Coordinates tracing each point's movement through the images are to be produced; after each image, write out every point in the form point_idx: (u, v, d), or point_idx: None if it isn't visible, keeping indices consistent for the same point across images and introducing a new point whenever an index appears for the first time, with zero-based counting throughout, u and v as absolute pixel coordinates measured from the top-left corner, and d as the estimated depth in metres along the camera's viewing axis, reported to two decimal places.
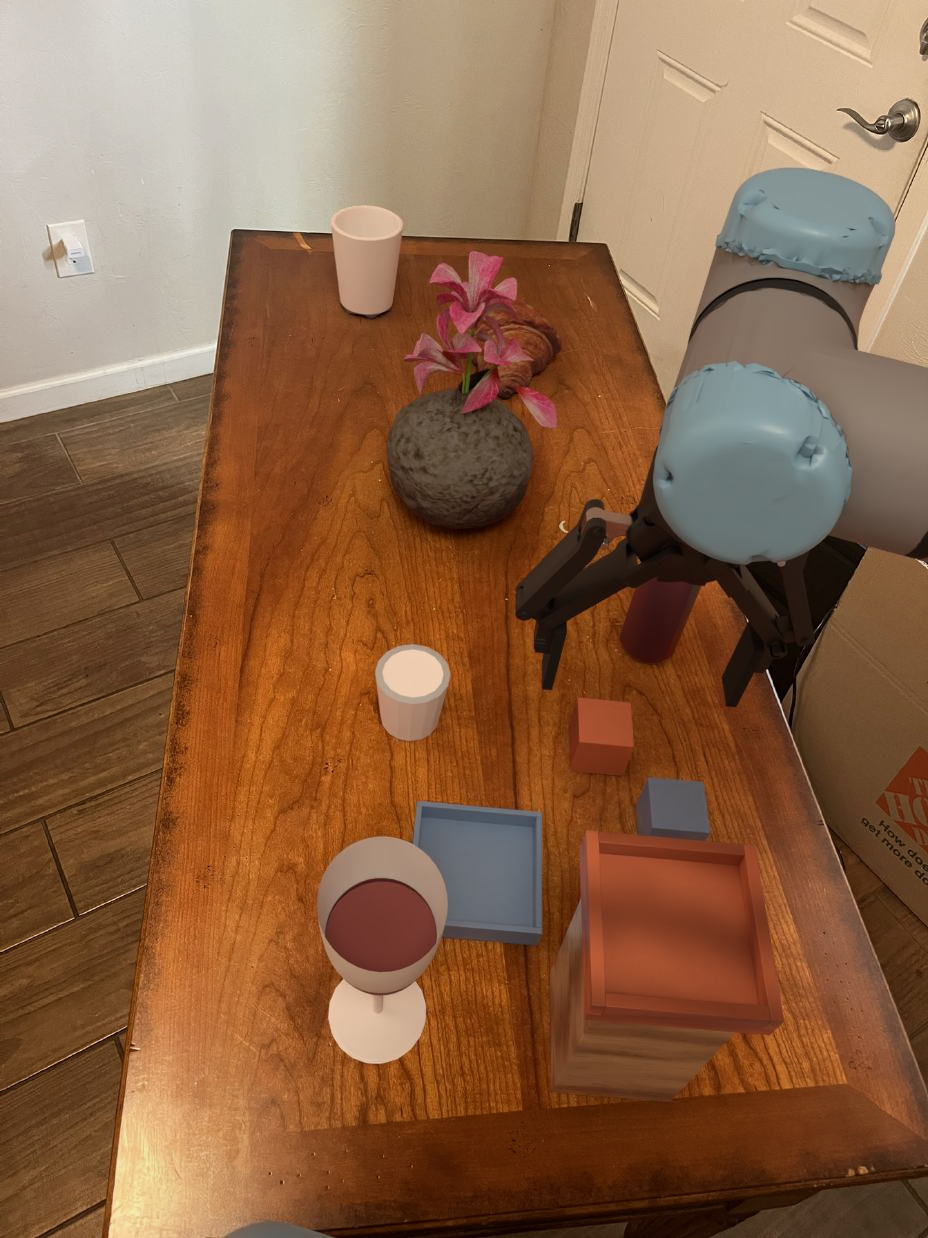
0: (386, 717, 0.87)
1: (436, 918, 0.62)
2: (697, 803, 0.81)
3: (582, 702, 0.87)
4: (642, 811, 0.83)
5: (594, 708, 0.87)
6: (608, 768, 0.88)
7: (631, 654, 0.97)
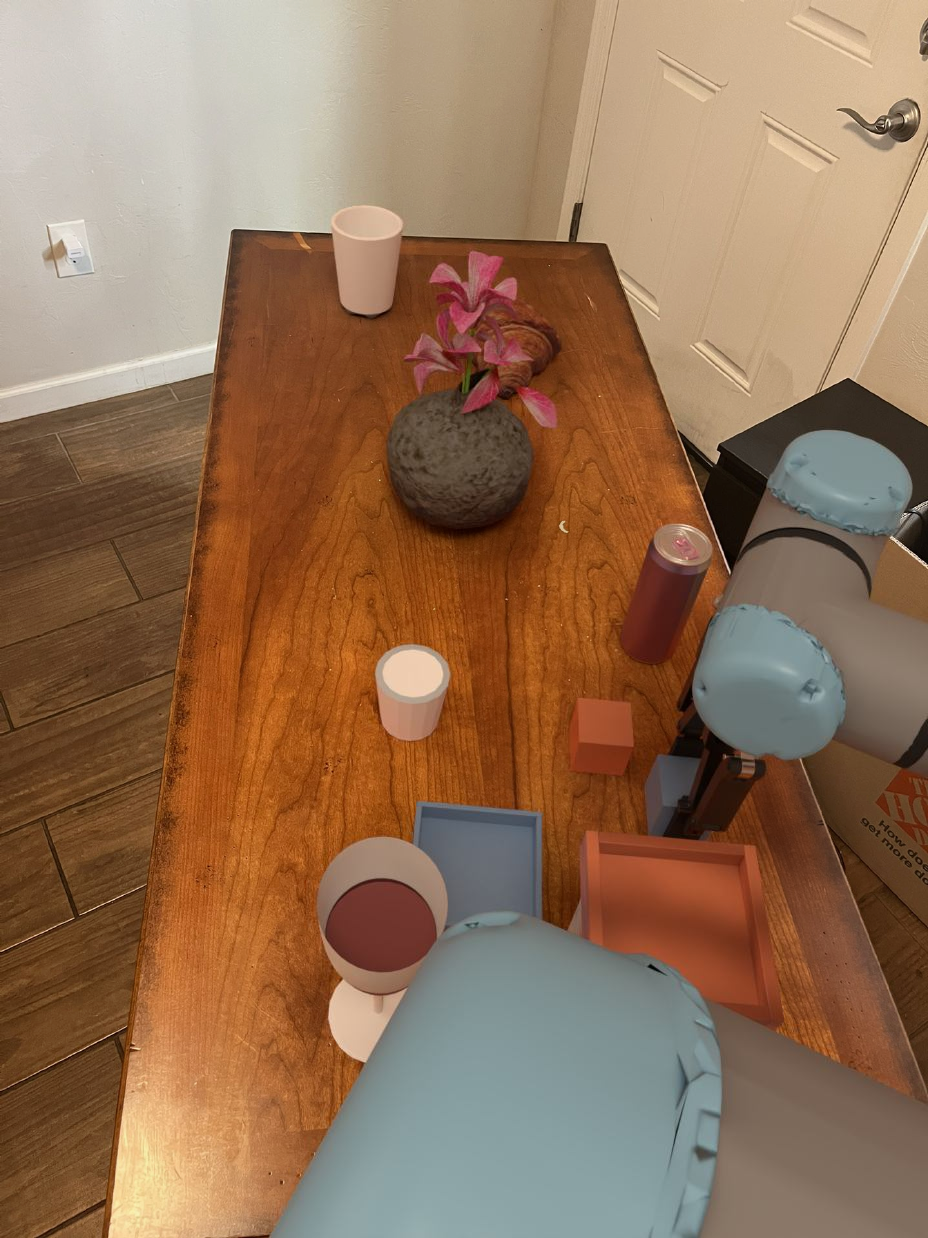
0: (386, 717, 0.87)
1: (436, 918, 0.62)
2: None
3: (582, 702, 0.87)
4: (652, 790, 0.80)
5: (594, 708, 0.87)
6: (608, 768, 0.88)
7: (631, 654, 0.97)
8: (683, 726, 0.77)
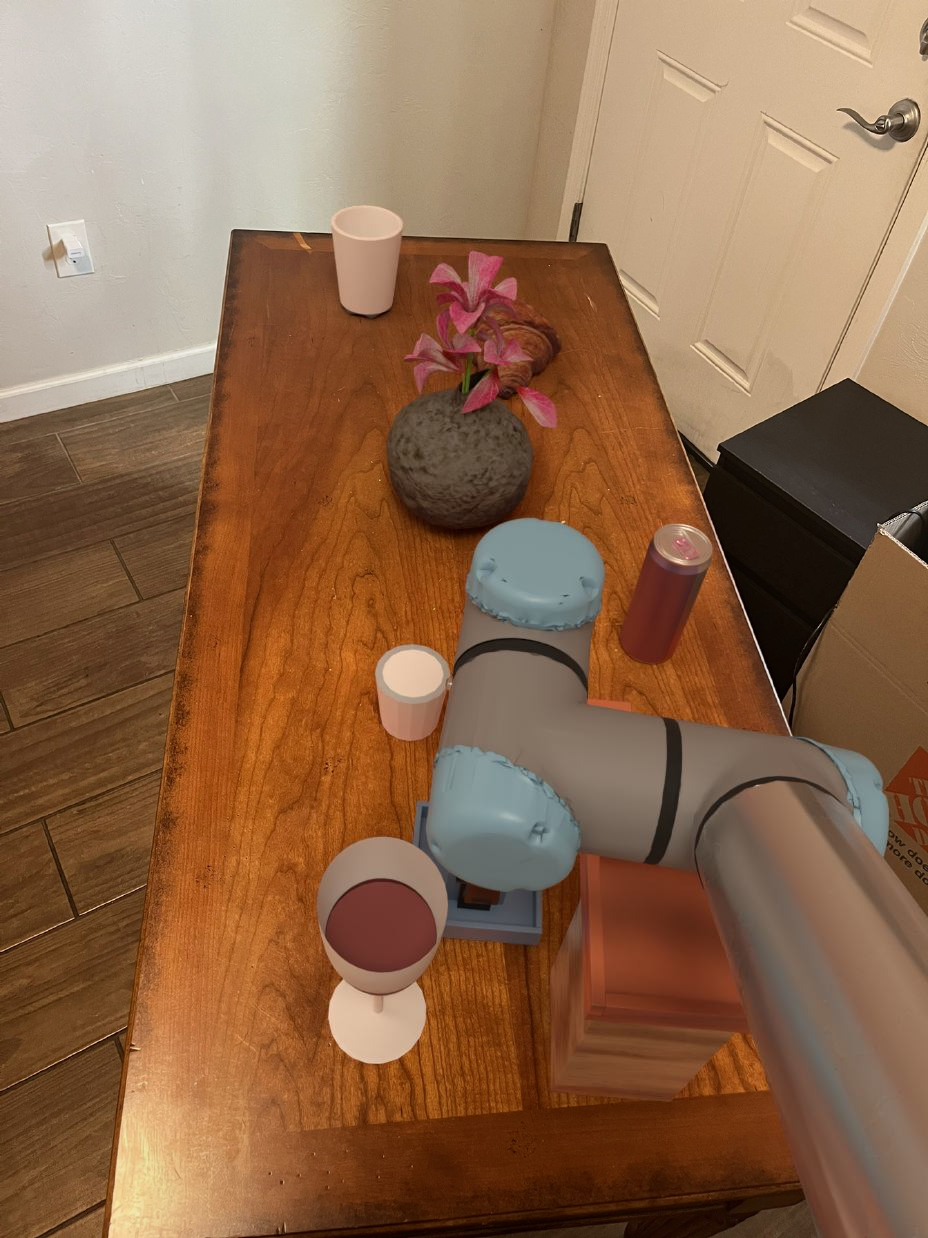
0: (386, 717, 0.87)
1: (436, 918, 0.62)
2: None
3: None
4: None
5: None
6: None
7: (631, 654, 0.97)
8: None
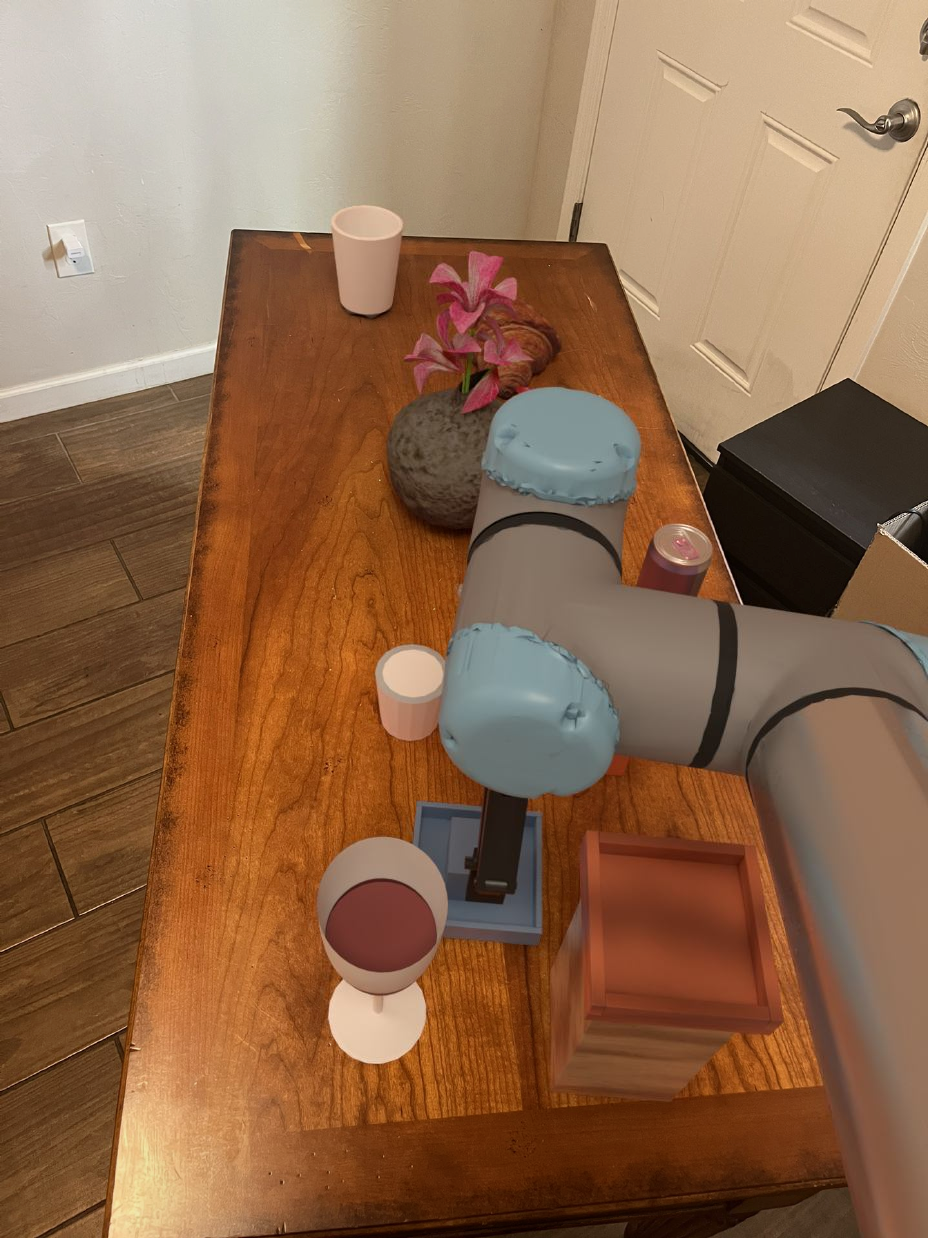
0: (386, 717, 0.87)
1: (436, 918, 0.62)
2: None
3: None
4: None
5: None
6: None
7: None
8: None
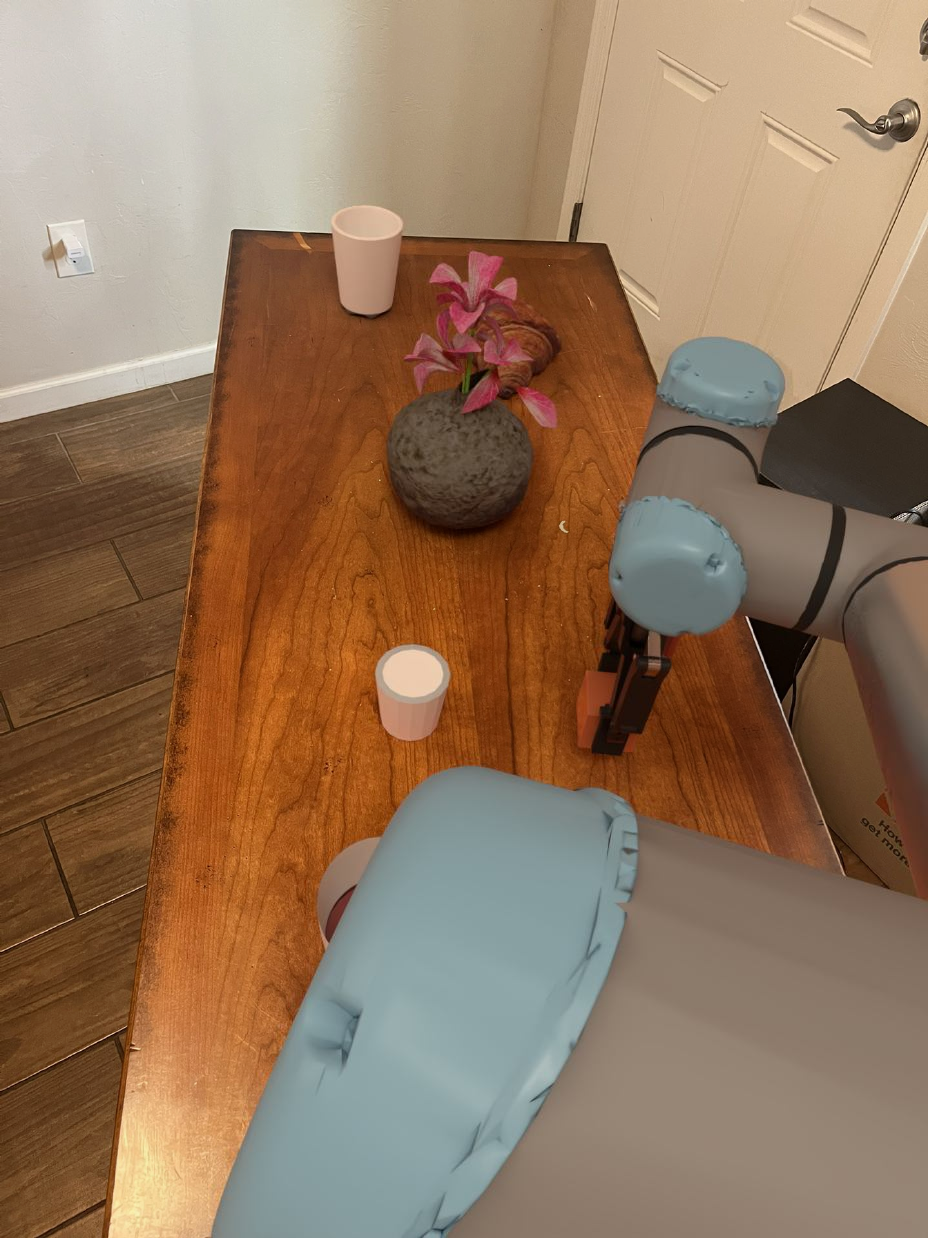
0: (386, 717, 0.87)
1: None
2: None
3: (590, 675, 0.84)
4: None
5: (603, 680, 0.84)
6: None
7: None
8: (608, 641, 0.82)
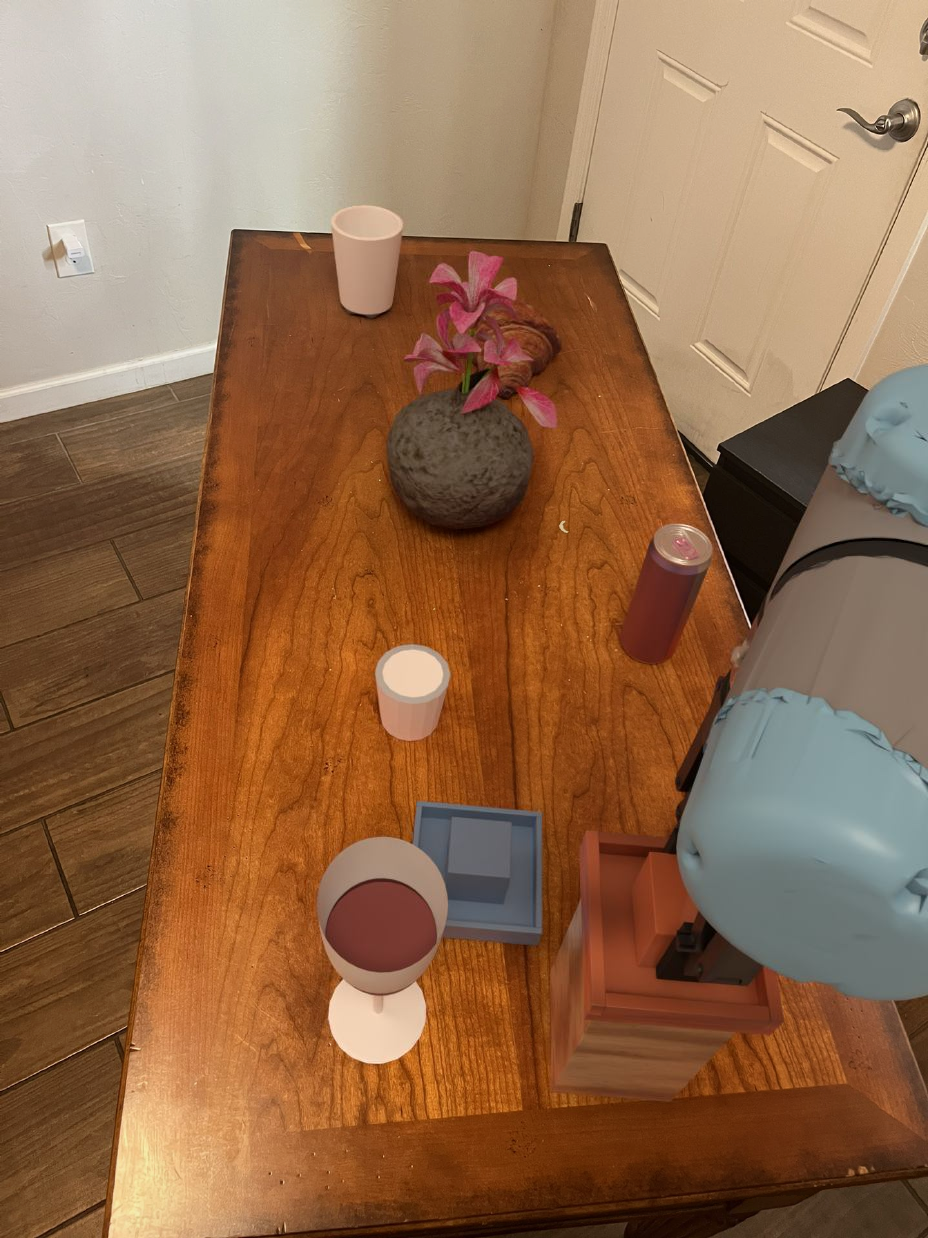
0: (386, 717, 0.87)
1: (437, 918, 0.62)
2: (500, 845, 0.77)
3: (657, 860, 0.55)
4: None
5: (675, 870, 0.55)
6: None
7: (631, 654, 0.97)
8: None
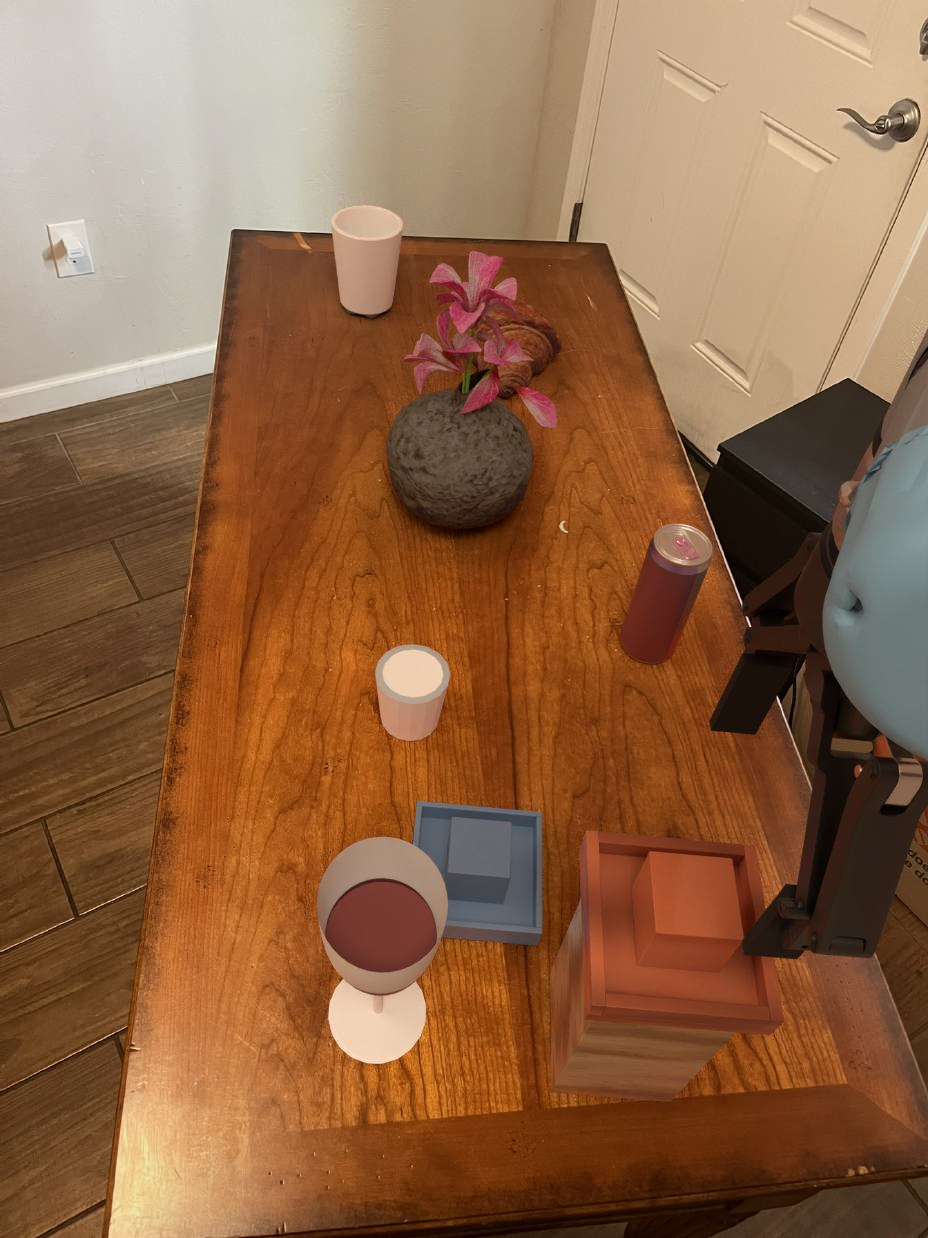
0: (386, 717, 0.87)
1: (437, 918, 0.62)
2: (500, 845, 0.77)
3: (657, 860, 0.55)
4: None
5: (675, 869, 0.55)
6: (698, 964, 0.55)
7: (631, 654, 0.97)
8: (754, 647, 0.50)
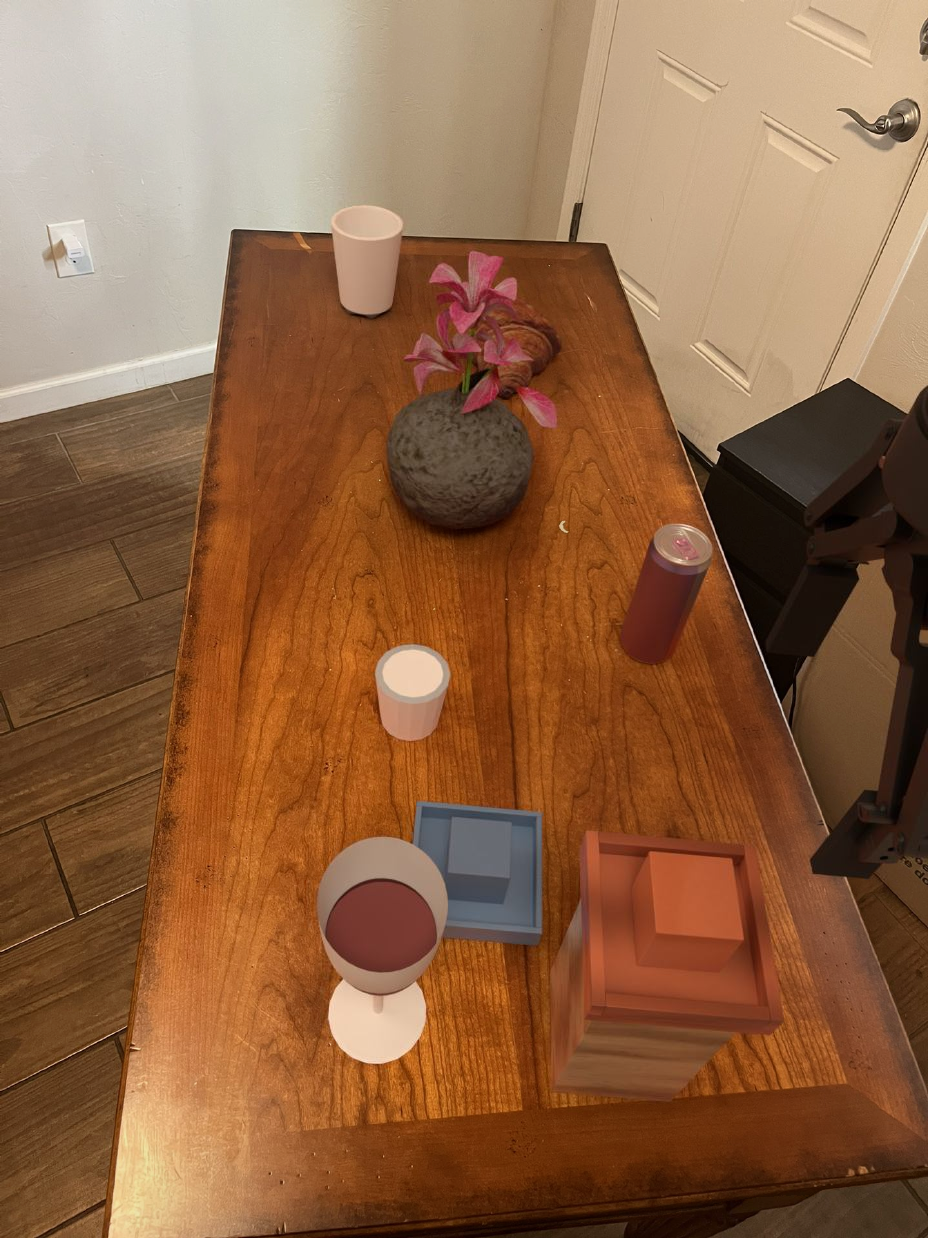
0: (386, 717, 0.87)
1: (437, 918, 0.62)
2: (500, 845, 0.77)
3: (657, 860, 0.55)
4: None
5: (675, 869, 0.55)
6: (698, 964, 0.55)
7: (631, 654, 0.97)
8: (820, 555, 0.48)
